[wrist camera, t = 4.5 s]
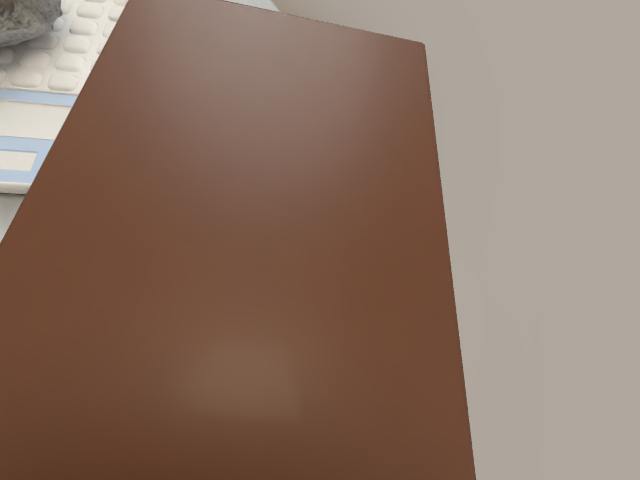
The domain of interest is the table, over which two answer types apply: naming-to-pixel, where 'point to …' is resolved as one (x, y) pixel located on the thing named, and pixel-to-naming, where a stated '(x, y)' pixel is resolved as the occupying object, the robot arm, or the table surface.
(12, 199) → the table surface
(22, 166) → the calculator
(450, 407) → the chocolate box
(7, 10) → the stone
